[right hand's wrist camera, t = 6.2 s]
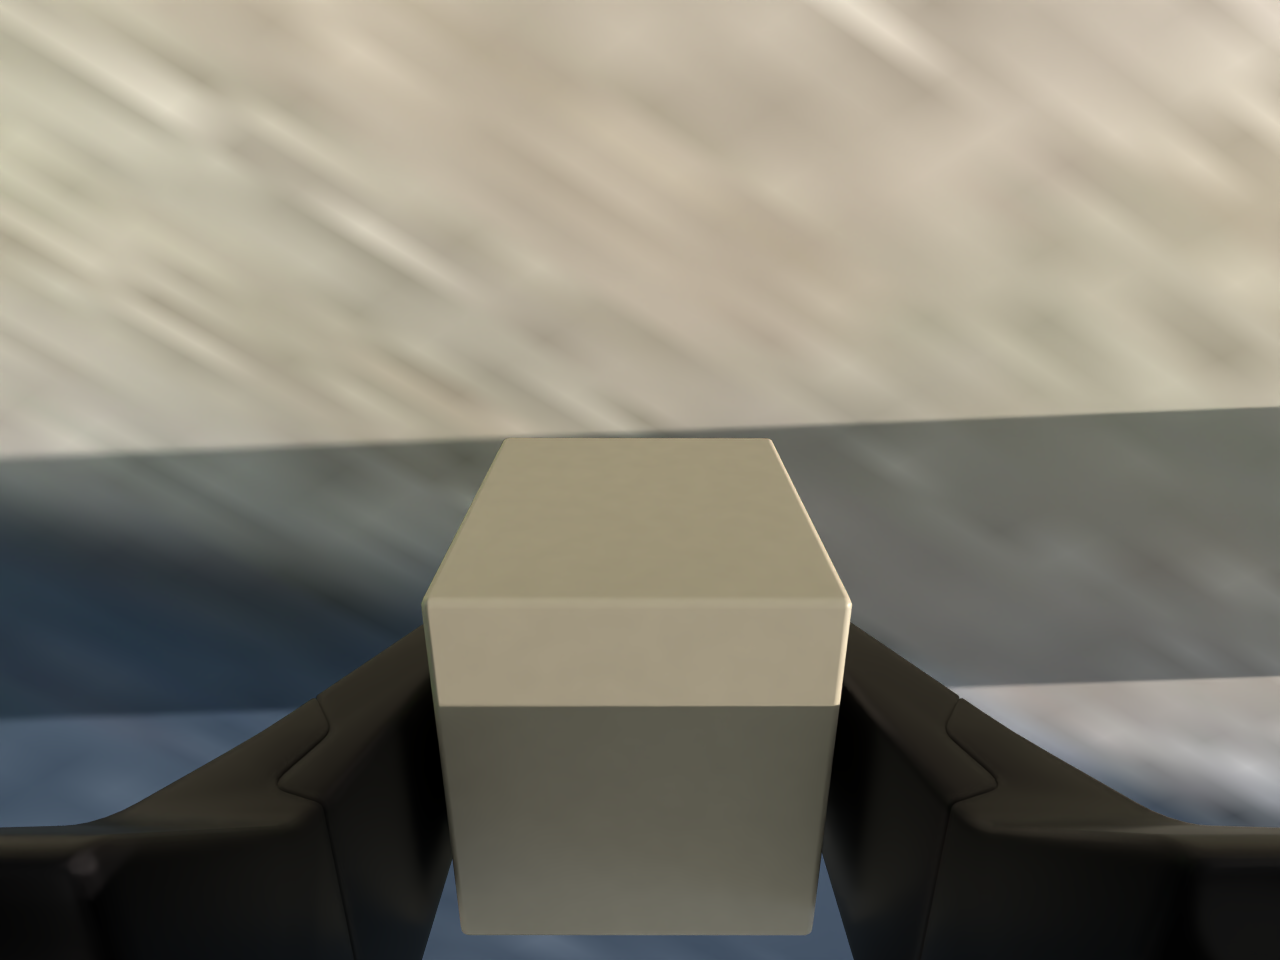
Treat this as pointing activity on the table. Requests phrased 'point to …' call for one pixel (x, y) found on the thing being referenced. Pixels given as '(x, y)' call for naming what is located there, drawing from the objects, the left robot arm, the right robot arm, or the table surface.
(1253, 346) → the table surface
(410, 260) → the table surface
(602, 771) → the block
